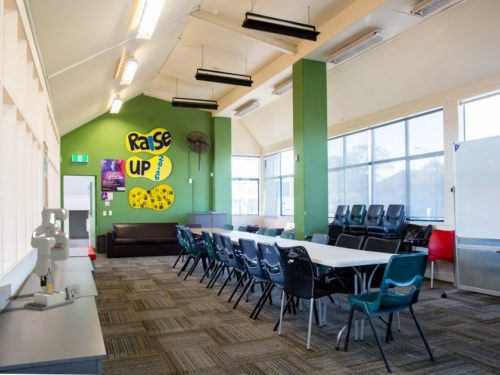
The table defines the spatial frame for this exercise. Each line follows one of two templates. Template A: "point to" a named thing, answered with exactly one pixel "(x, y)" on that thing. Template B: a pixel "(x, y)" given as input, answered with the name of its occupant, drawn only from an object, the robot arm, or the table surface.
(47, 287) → the handle
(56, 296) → the block
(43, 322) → the table surface
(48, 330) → the table surface
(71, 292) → the electrical switch
